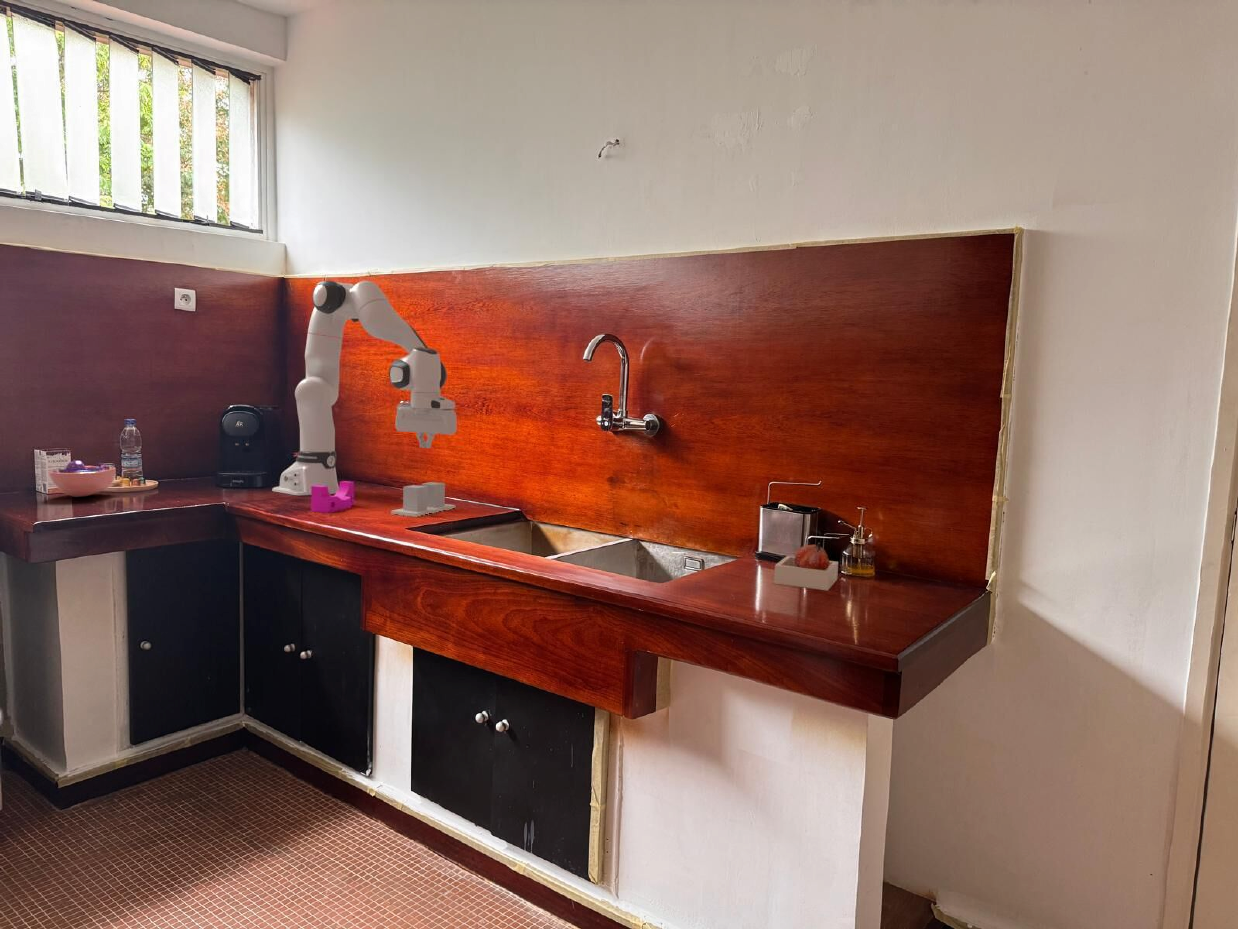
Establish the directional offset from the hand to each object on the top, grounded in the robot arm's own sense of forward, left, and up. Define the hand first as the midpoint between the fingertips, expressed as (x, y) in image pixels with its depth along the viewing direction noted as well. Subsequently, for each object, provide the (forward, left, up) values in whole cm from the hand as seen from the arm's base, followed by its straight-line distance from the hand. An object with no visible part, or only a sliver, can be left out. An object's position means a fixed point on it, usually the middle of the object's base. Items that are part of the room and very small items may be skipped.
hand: (425, 447), depth 263 cm
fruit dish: (+122, -28, -19) cm, 127 cm away
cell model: (-101, -37, -20) cm, 109 cm away
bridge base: (0, 0, -19) cm, 19 cm away
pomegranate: (+122, -28, -20) cm, 127 cm away
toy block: (-25, -11, -20) cm, 33 cm away
